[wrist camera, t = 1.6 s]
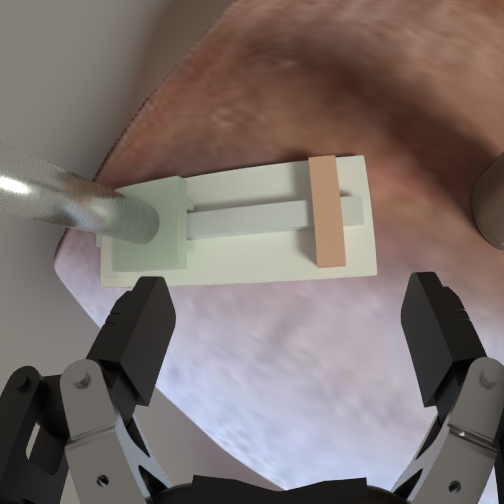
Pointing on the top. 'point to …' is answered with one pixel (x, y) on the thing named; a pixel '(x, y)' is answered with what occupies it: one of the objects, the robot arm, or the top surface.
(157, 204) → the ball knob lever
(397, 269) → the top surface
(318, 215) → the rail
